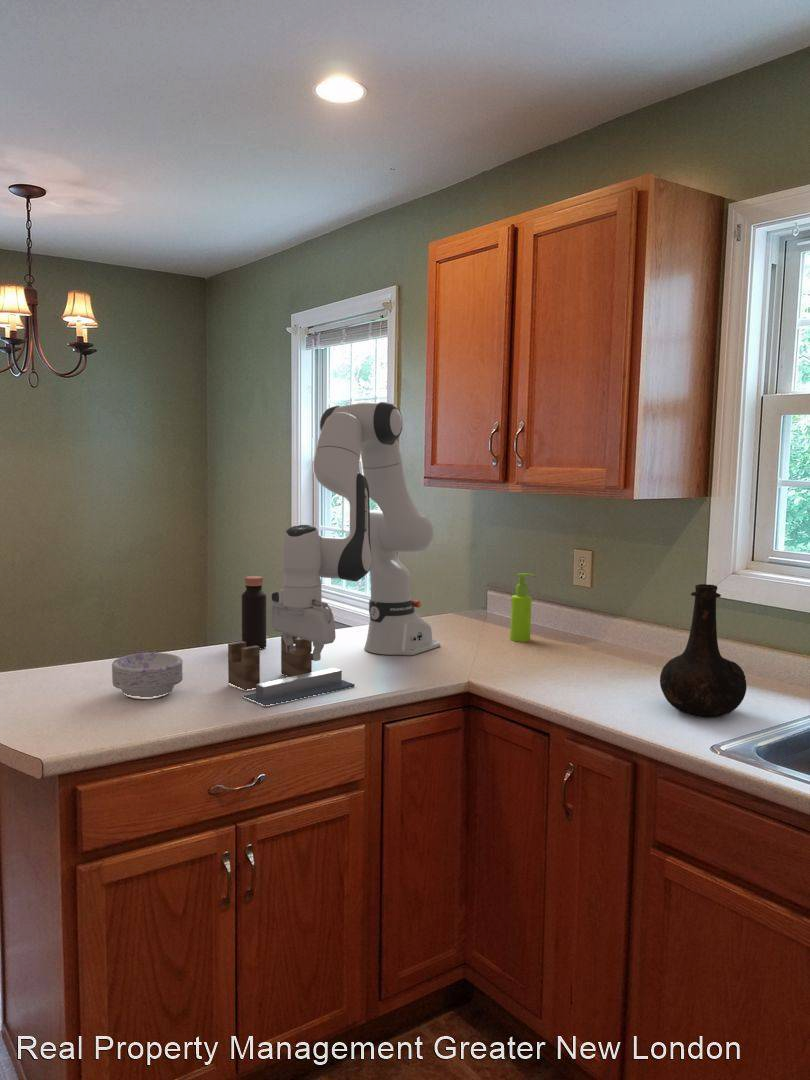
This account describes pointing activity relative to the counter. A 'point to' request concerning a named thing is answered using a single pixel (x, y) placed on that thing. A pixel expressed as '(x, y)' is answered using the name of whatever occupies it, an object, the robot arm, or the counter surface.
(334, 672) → the rail
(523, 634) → the soap dispenser
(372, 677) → the counter surface
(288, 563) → the robot arm
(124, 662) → the paper bowls
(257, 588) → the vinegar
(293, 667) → the cradles
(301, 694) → the mat
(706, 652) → the glass bottle
